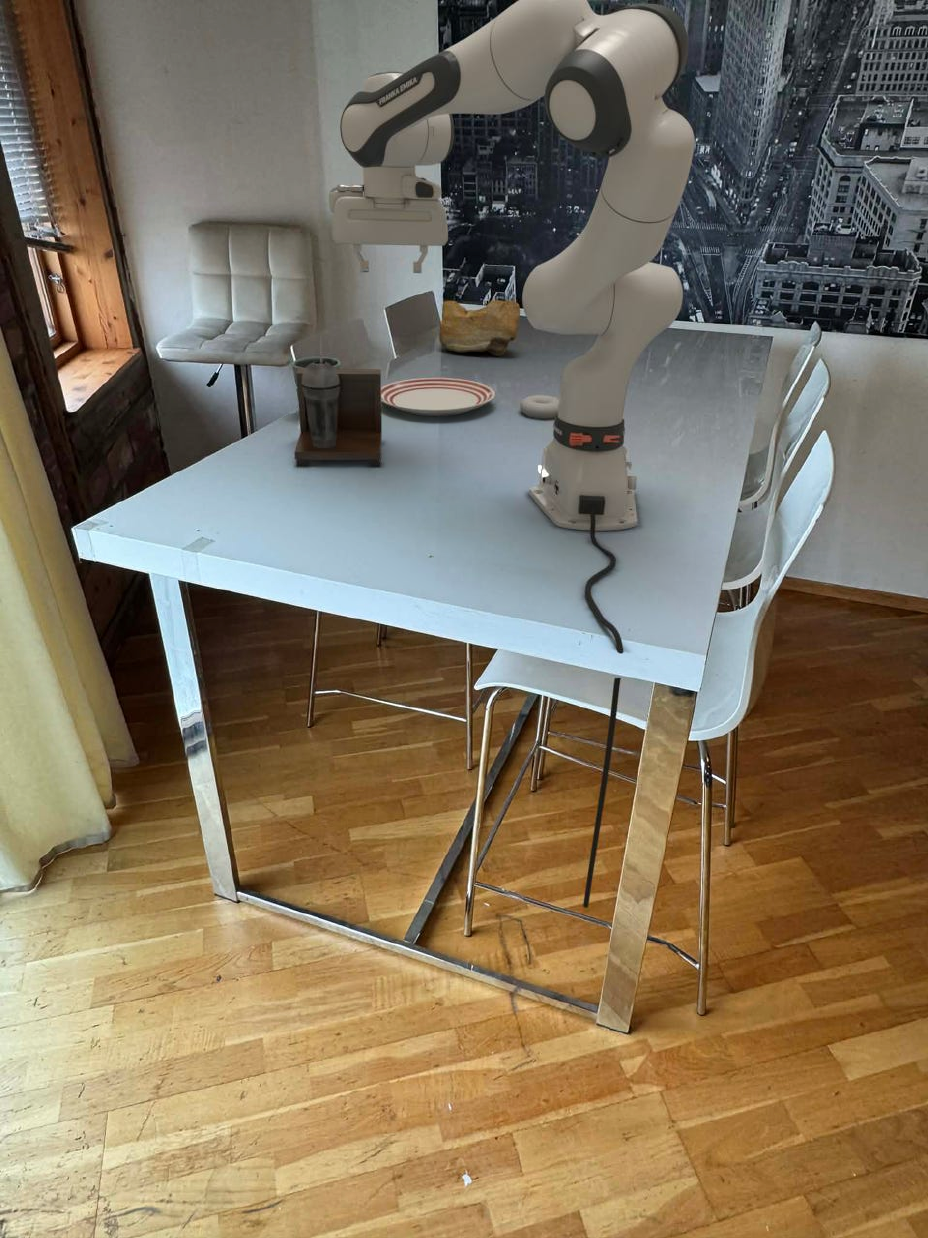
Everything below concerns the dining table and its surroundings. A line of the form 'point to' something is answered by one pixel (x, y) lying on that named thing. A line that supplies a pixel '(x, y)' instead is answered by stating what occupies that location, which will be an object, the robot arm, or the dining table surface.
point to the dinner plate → (436, 396)
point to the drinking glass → (306, 361)
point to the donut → (540, 406)
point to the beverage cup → (321, 401)
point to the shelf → (347, 419)
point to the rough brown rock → (479, 327)
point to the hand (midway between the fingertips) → (391, 272)
